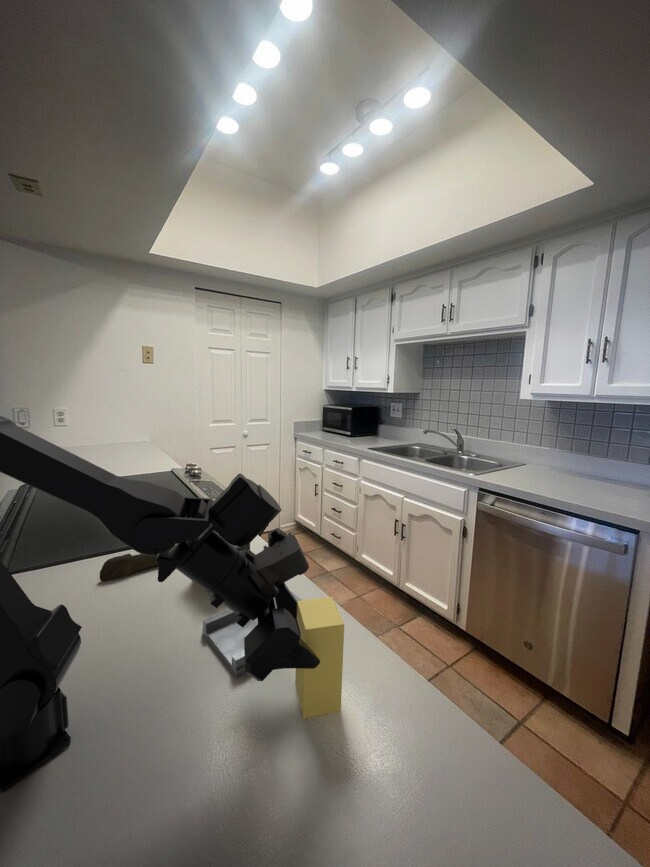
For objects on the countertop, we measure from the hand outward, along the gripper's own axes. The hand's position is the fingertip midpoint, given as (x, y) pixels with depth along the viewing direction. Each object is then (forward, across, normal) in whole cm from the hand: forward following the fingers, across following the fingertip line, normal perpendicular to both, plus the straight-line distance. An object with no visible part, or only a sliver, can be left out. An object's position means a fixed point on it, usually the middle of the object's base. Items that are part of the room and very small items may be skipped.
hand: (309, 638), depth 48 cm
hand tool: (-14, +41, +26) cm, 50 cm away
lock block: (+7, 0, +5) cm, 9 cm away
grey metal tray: (+2, +14, +10) cm, 17 cm away
